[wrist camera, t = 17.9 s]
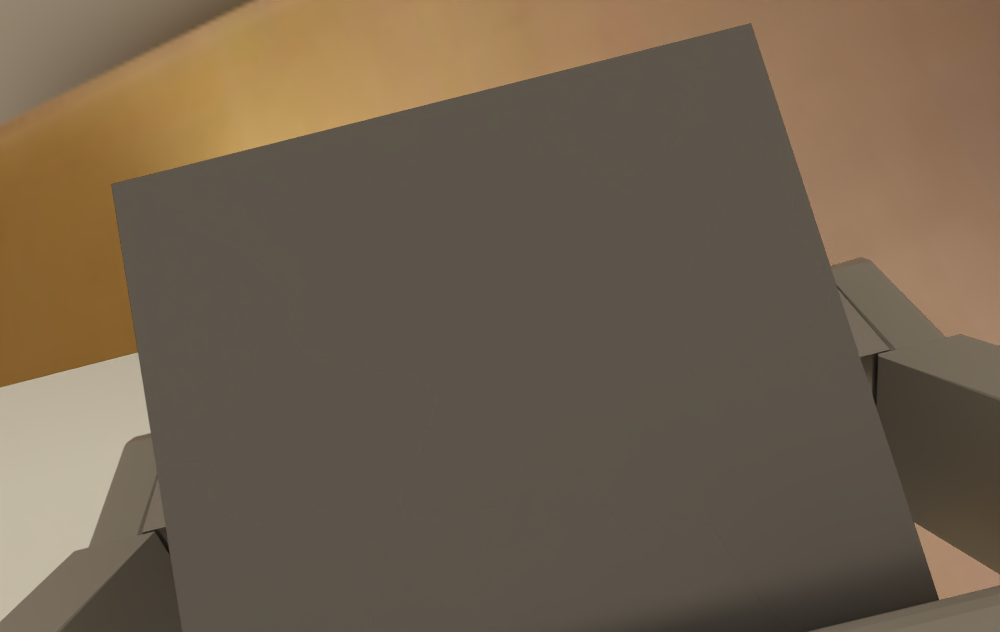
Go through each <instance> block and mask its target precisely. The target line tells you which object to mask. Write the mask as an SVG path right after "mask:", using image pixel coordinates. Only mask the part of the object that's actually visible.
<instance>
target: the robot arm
mask: <svg viewBox="0 0 1000 632" xmlns="http://www.w3.org/2000/svg"><path fill="white" fill-rule="evenodd" d="M830 267H831V270H832V273H833V276H834V279H835V282H836V285H837V288H838V292H839V295H840V298H841V301H842V304H843V307H844V310H845V313H846V316H847V319H848V322H849V325H850V328H851V331H852V334H853V338H854V341H855V344H856V347H857V350H858V353H859V356H860V359H861V362H862V365H863V368H864V371H865V374H866V377H867V380H868V383H869V387H870V390H871V393H872V396H873V399H874V402H875V405H876V408H877V411H878V414H879V417H880V420H881V423H882V426H883V429H884V433H885V436H886V439H887V442H888V445H889V448H890V451H891V454H892V457H893V460H894V463H895V466H896V469H897V472H898V475H899V478H900V482H901V485H902V488H903V491H904V494H905V497H906V500H907V503H908V506H909V509H910V512H911V515H912V518H913V521H914V522H915V523H917V524H918V525H920V526H921V527H923V528H925V529H926V530H928V531H930V532H931V533H933V534H935V535H936V536H938V537H939V538H941V539H943V540H944V541H946V542H948V543H949V544H951V545H953V546H954V547H956V548H958V549H959V550H961V551H962V552H964V553H966V554H967V555H969V556H971V557H972V558H974V559H976V560H977V561H979V562H980V563H982V564H984V565H985V566H987V567H989V568H990V569H992V570H994V571H995V572H997V573H999V574H1000V346H997V345H994V344H990V343H987V342H984V341H981V340H978V339H974V338H971V337H968V336H965V335H961V334H959V335H955V336H951V337H947V338H946V337H945V336H944V335H943V334H942V333H941V332H940V331H939V330H938V329H937V328H936V327H935V326H934V325H933V324H932V322H931V321H930V320H929V319H928V318H927V317H926V316H925V315H924V314H923V313H922V312H921V311H920V310H919V309H918V308H917V307H916V306H915V305H914V304H913V303H912V302H911V301H910V300H909V299H908V298H907V297H906V296H905V295H904V294H903V293H902V292H901V291H900V290H899V289H898V288H897V287H896V286H895V285H894V284H893V283H892V282H891V281H890V280H889V279H888V278H887V277H886V276H885V275H884V274H883V273H882V272H881V271H880V270H879V269H878V268H877V267H876V266H875V264H874V263H873V262H872V261H871V260H868V259H865V258H862V257H861V258H857V259H854V260H850V261H846V262H843V263H839V264H836V265H832V266H830ZM0 632H182V627H181V620H180V614H179V608H178V601H177V595H176V589H175V583H174V576H173V570H172V564H171V557H170V551H169V545H168V538H167V532H166V526H165V520H164V513H163V507H162V501H161V494H160V488H159V482H158V475H157V469H156V463H155V457H154V450H153V444H152V438H151V433H149V434H145V435H141V436H136V437H134V438H132V439H131V440H130V441H128V442H127V443H126V444H125V446H124V448H123V451H122V454H121V457H120V460H119V462H118V465H117V468H116V471H115V474H114V476H113V479H112V482H111V485H110V488H109V491H108V493H107V496H106V499H105V502H104V505H103V507H102V510H101V513H100V516H99V519H98V521H97V524H96V527H95V530H94V533H93V536H92V538H91V541H90V544H89V547H88V548H84V549H80V550H76V551H74V552H73V553H72V554H71V555H70V556H68V557H67V558H66V559H65V560H64V561H63V562H62V563H61V564H60V565H59V566H58V567H57V568H56V569H55V570H54V571H53V572H52V573H51V574H50V575H49V576H48V577H46V578H45V579H44V580H43V581H42V582H41V583H40V584H39V585H38V586H37V587H36V588H35V589H34V590H33V591H32V592H31V593H30V594H29V595H28V596H27V597H26V598H24V599H23V600H22V601H21V602H20V603H19V604H18V605H17V606H16V607H15V608H14V609H13V610H12V611H11V612H10V613H9V614H8V615H7V616H6V617H5V618H4V619H2V620H1V621H0ZM808 632H1000V586H996V587H991V588H987V589H983V590H979V591H975V592H971V593H967V594H962V595H958V596H954V597H950V598H946V599H941V600H937V601H933V602H929V603H925V604H921V605H916V606H912V607H908V608H904V609H900V610H895V611H891V612H887V613H883V614H879V615H875V616H870V617H866V618H862V619H858V620H854V621H850V622H845V623H841V624H837V625H833V626H829V627H824V628H820V629H816V630H812V631H808Z"/></svg>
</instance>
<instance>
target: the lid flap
mask: <svg viewBox="0 0 1000 632" xmlns="http://www.w3.org/2000/svg"><path fill="white" fill-rule="evenodd" d="M149 433H151V431H150V425H149V419H148V412H147V406H146V400H145V394H144V387H143V381H142V375H141V368H140V362H139V356H138V353H134V354H130V355H126V356H122V357H118V358H114V359H110V360H106V361H102V362H98V363H95V364H91V365H87V366H83V367H79V368H75V369H71V370H67V371H63V372H59V373H55V374H51V375H48V376H44V377H40V378H36V379H32V380H28V381H24V382H20V383H16V384H12V385H8V386H4V387H1V388H0V621H1V620H2V619H4V618H5V617H6V616H7V615H8V614H9V613H10V612H11V611H12V610H13V609H14V608H15V607H16V606H17V605H18V604H19V603H20V602H21V601H22V600H23V599H24V598H26V597H27V596H28V595H29V594H30V593H31V592H32V591H33V590H34V589H35V588H36V587H37V586H38V585H39V584H40V583H41V582H42V581H43V580H44V579H45V578H46V577H48V576H49V575H50V574H51V573H52V572H53V571H54V570H55V569H56V568H57V567H58V566H59V565H60V564H61V563H62V562H63V561H64V560H65V559H66V558H67V557H68V556H70V555H71V554H72V553H73V552H74V551H76V550H80V549H84V548H88V547H89V544H90V541H91V538H92V536H93V533H94V530H95V527H96V524H97V521H98V519H99V516H100V513H101V510H102V507H103V505H104V502H105V499H106V496H107V493H108V491H109V488H110V485H111V482H112V479H113V476H114V474H115V471H116V468H117V465H118V462H119V460H120V457H121V454H122V451H123V448H124V446H125V444H126V443H127V442H128V441H130V440H131V439H132V438H134V437H136V436H141V435H145V434H149Z"/></svg>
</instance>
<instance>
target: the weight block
mask: <svg viewBox="0 0 1000 632" xmlns="http://www.w3.org/2000/svg"><path fill="white" fill-rule="evenodd" d="M111 186H112V192H113V198H114V205H115V211H116V217H117V223H118V230H119V236H120V242H121V249H122V255H123V261H124V268H125V274H126V280H127V286H128V293H129V299H130V305H131V312H132V318H133V324H134V331H135V337H136V343H137V349H138V356H139V362H140V368H141V375H142V381H143V387H144V394H145V400H146V406H147V412H148V419H149V425H150V431H151V438H152V444H153V450H154V457H155V463H156V469H157V475H158V482H159V488H160V494H161V501H162V507H163V513H164V520H165V526H166V532H167V538H168V545H169V551H170V557H171V564H172V570H173V576H174V583H175V589H176V595H177V601H178V608H179V614H180V620H181V627H182V632H808V631H812V630H816V629H820V628H824V627H829V626H833V625H837V624H841V623H845V622H850V621H854V620H858V619H862V618H866V617H870V616H875V615H879V614H883V613H887V612H891V611H895V610H900V609H904V608H908V607H912V606H916V605H921V604H925V603H929V602H933V601H937V600H939V598H938V595H937V592H936V589H935V586H934V583H933V580H932V577H931V573H930V570H929V567H928V564H927V561H926V558H925V555H924V552H923V549H922V546H921V543H920V540H919V537H918V534H917V531H916V528H915V524H914V521H913V518H912V515H911V512H910V509H909V506H908V503H907V500H906V497H905V494H904V491H903V488H902V485H901V482H900V478H899V475H898V472H897V469H896V466H895V463H894V460H893V457H892V454H891V451H890V448H889V445H888V442H887V439H886V436H885V433H884V429H883V426H882V423H881V420H880V417H879V414H878V411H877V408H876V405H875V402H874V399H873V396H872V393H871V390H870V387H869V383H868V380H867V377H866V374H865V371H864V368H863V365H862V362H861V359H860V356H859V353H858V350H857V347H856V344H855V341H854V338H853V334H852V331H851V328H850V325H849V322H848V319H847V316H846V313H845V310H844V307H843V304H842V301H841V298H840V295H839V292H838V288H837V285H836V282H835V279H834V276H833V273H832V270H831V267H830V264H829V261H828V258H827V255H826V252H825V249H824V246H823V242H822V239H821V236H820V233H819V230H818V227H817V224H816V221H815V218H814V215H813V212H812V209H811V206H810V203H809V200H808V197H807V193H806V190H805V187H804V184H803V181H802V178H801V175H800V172H799V169H798V166H797V163H796V160H795V157H794V154H793V151H792V147H791V144H790V141H789V138H788V135H787V132H786V129H785V126H784V123H783V120H782V117H781V114H780V111H779V108H778V105H777V102H776V98H775V95H774V92H773V89H772V86H771V83H770V80H769V77H768V74H767V71H766V68H765V65H764V62H763V59H762V56H761V52H760V49H759V46H758V43H757V40H756V37H755V34H754V31H753V28H752V25H751V23H750V24H746V25H742V26H738V27H734V28H730V29H726V30H722V31H718V32H714V33H710V34H706V35H702V36H699V37H695V38H691V39H687V40H683V41H679V42H675V43H671V44H667V45H663V46H659V47H655V48H651V49H647V50H643V51H639V52H635V53H631V54H627V55H623V56H619V57H615V58H611V59H607V60H603V61H599V62H595V63H591V64H587V65H583V66H579V67H575V68H571V69H567V70H563V71H559V72H555V73H551V74H547V75H544V76H540V77H536V78H532V79H528V80H524V81H520V82H516V83H512V84H508V85H504V86H500V87H496V88H492V89H488V90H484V91H480V92H476V93H472V94H468V95H464V96H460V97H456V98H452V99H448V100H444V101H440V102H436V103H432V104H428V105H424V106H420V107H416V108H412V109H408V110H404V111H400V112H396V113H392V114H388V115H385V116H381V117H377V118H373V119H369V120H365V121H361V122H357V123H353V124H349V125H345V126H341V127H337V128H333V129H329V130H325V131H321V132H317V133H313V134H309V135H305V136H301V137H297V138H293V139H289V140H285V141H281V142H277V143H273V144H269V145H265V146H261V147H257V148H253V149H249V150H245V151H241V152H237V153H233V154H230V155H226V156H222V157H218V158H214V159H210V160H206V161H202V162H198V163H194V164H190V165H186V166H182V167H178V168H174V169H170V170H166V171H162V172H158V173H154V174H150V175H146V176H142V177H138V178H134V179H130V180H126V181H122V182H118V183H114V184H111Z"/></svg>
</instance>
